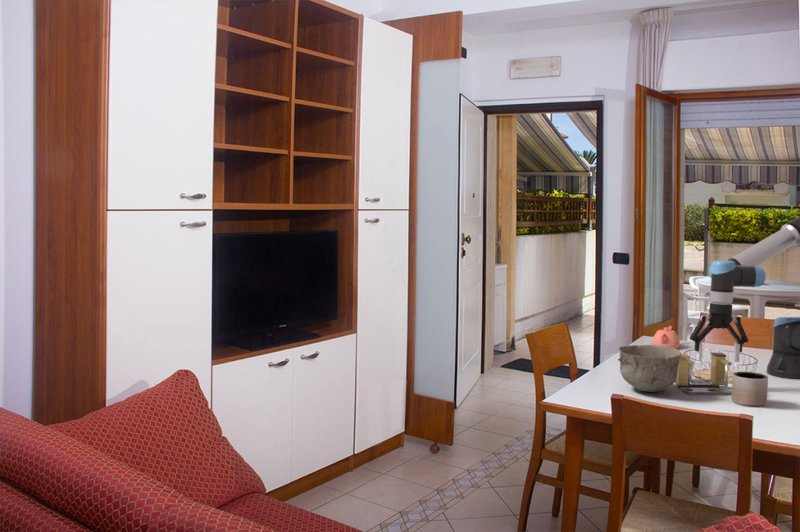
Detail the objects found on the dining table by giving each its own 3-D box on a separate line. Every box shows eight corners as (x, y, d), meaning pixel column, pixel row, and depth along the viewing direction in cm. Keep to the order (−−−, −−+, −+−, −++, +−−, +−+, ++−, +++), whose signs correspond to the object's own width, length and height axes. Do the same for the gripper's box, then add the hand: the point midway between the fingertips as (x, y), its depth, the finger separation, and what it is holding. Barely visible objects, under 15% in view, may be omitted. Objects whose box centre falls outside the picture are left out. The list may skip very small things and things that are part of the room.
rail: (717, 386, 264) (717, 383, 264) (719, 388, 262) (719, 385, 262) (676, 386, 264) (676, 383, 264) (678, 387, 262) (678, 384, 262)
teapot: (648, 349, 332) (648, 328, 331) (657, 342, 347) (658, 323, 346) (675, 352, 326) (676, 331, 325) (683, 345, 341) (684, 325, 340)
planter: (724, 398, 248) (726, 371, 247) (754, 398, 249) (756, 371, 248) (742, 407, 237) (743, 379, 236) (773, 407, 238) (775, 378, 237)
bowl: (649, 402, 243) (651, 358, 241) (603, 387, 262) (604, 346, 261) (694, 394, 253) (696, 352, 252) (647, 380, 272) (648, 341, 271)
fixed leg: (683, 382, 266) (684, 353, 265) (696, 390, 254) (697, 360, 253) (674, 382, 266) (675, 353, 265) (686, 390, 254) (687, 360, 253)
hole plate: (726, 390, 258) (726, 387, 258) (733, 395, 252) (733, 392, 252) (681, 390, 259) (681, 387, 259) (688, 394, 253) (688, 391, 253)
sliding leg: (719, 381, 265) (720, 352, 264) (733, 390, 253) (735, 359, 252) (709, 381, 265) (710, 352, 264) (723, 390, 253) (724, 359, 252)
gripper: (751, 302, 264) (747, 359, 265) (682, 300, 264) (679, 357, 266) (760, 305, 256) (756, 363, 258) (690, 303, 257) (686, 361, 258)
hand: (717, 360), depth 262 cm, fingers open, 13 cm apart
